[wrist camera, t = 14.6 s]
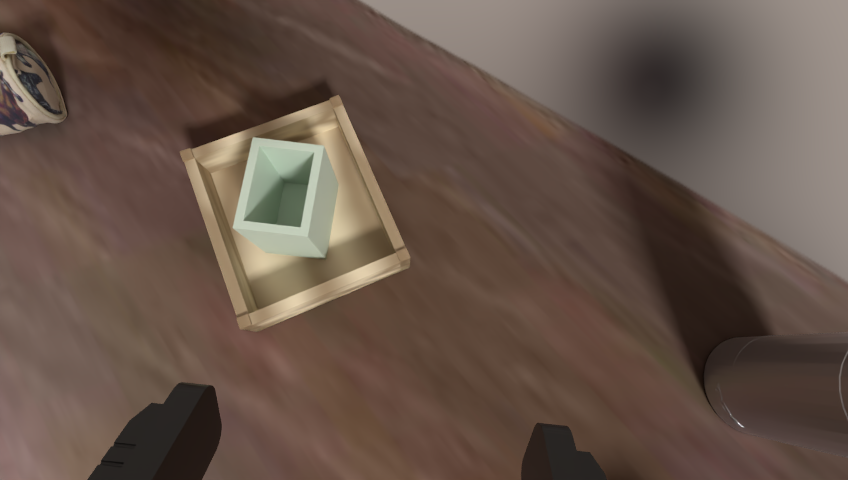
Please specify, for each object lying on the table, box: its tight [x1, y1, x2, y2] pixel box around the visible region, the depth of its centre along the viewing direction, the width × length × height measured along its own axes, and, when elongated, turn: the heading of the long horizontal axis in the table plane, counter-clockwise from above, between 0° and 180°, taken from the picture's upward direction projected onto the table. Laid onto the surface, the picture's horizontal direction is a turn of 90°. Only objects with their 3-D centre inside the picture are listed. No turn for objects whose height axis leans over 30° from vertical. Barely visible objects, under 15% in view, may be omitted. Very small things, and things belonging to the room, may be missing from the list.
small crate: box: [233, 137, 339, 260], centre depth 41 cm, size 6×8×9 cm
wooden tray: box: [180, 95, 410, 332], centre depth 44 cm, size 16×18×5 cm
